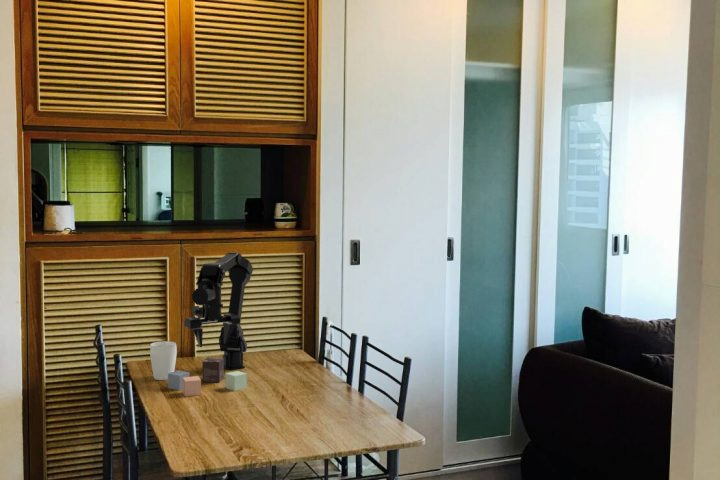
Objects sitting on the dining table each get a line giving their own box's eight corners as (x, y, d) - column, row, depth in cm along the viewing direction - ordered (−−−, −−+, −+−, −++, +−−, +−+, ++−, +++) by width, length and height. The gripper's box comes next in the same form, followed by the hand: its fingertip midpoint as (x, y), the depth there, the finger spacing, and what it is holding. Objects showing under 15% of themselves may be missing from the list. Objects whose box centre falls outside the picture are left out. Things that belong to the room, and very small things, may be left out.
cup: (173, 381, 273) (173, 347, 272) (147, 381, 274) (146, 346, 273) (179, 374, 282) (179, 341, 281) (154, 374, 283) (154, 340, 282)
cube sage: (237, 385, 270) (237, 370, 270) (246, 388, 267) (246, 373, 267) (225, 388, 267) (225, 373, 266) (234, 391, 263) (234, 376, 263)
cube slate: (178, 384, 270) (178, 370, 269) (189, 387, 268) (189, 372, 267) (168, 388, 266) (167, 373, 265) (179, 390, 263) (179, 375, 263)
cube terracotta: (198, 391, 263) (198, 376, 262) (200, 395, 258) (200, 380, 258) (182, 392, 261) (182, 377, 261) (185, 396, 256) (185, 381, 256)
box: (224, 378, 279) (224, 357, 278) (219, 383, 273) (219, 361, 272) (207, 377, 279) (207, 357, 279) (202, 382, 273) (202, 361, 273)
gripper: (226, 294, 286) (226, 338, 287) (177, 299, 275) (177, 344, 276) (241, 299, 277) (241, 343, 278) (191, 304, 266) (191, 350, 267)
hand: (212, 345), depth 275 cm, fingers open, 9 cm apart
